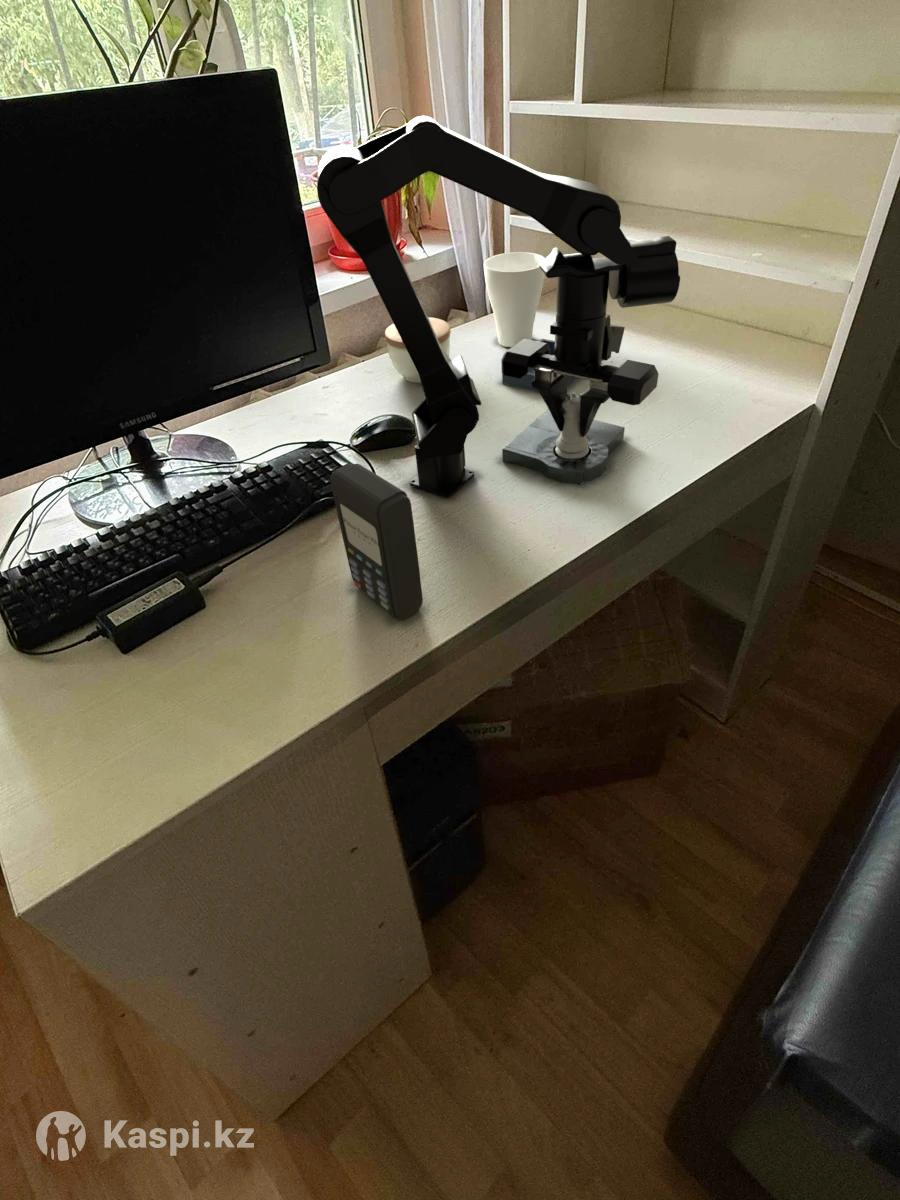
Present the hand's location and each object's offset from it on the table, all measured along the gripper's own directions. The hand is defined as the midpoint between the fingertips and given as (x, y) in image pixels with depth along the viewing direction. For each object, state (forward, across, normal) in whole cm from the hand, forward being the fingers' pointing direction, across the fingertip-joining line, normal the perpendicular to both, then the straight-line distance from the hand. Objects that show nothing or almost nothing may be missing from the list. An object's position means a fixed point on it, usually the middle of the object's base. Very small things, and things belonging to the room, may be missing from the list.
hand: (573, 432), depth 89 cm
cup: (+5, +28, -32) cm, 43 cm away
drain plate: (+5, +2, -2) cm, 6 cm away
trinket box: (+5, +35, -13) cm, 38 cm away
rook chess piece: (+3, 0, 0) cm, 3 cm away
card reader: (+5, +5, +34) cm, 35 cm away
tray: (+5, +16, -23) cm, 28 cm away
